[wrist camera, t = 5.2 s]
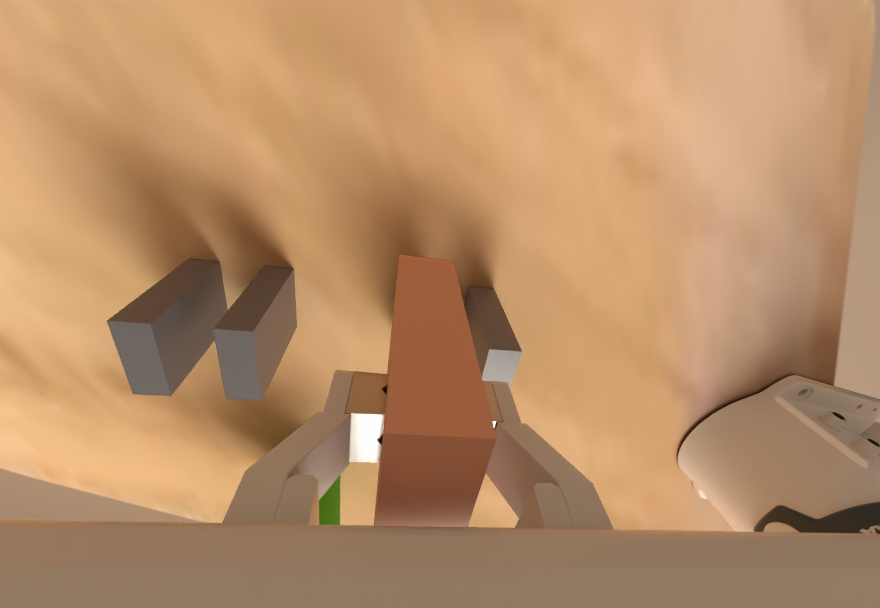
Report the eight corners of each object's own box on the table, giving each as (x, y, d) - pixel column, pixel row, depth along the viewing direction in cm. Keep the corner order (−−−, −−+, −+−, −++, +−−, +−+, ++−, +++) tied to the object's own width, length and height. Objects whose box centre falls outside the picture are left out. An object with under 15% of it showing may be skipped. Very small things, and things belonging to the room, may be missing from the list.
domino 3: (453, 260, 13) (496, 438, 7) (434, 365, 16) (450, 575, 9) (399, 254, 13) (384, 433, 6) (388, 362, 16) (369, 575, 9)
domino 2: (293, 269, 26) (253, 331, 19) (296, 326, 29) (261, 400, 22) (264, 266, 26) (212, 328, 19) (270, 324, 28) (226, 398, 21)
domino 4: (493, 288, 28) (522, 351, 21) (481, 340, 31) (502, 412, 24) (468, 286, 28) (489, 349, 21) (457, 338, 30) (472, 410, 24)
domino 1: (219, 261, 26) (150, 324, 19) (229, 321, 28) (171, 395, 21) (188, 258, 25) (106, 320, 18) (201, 319, 28) (133, 394, 21)
